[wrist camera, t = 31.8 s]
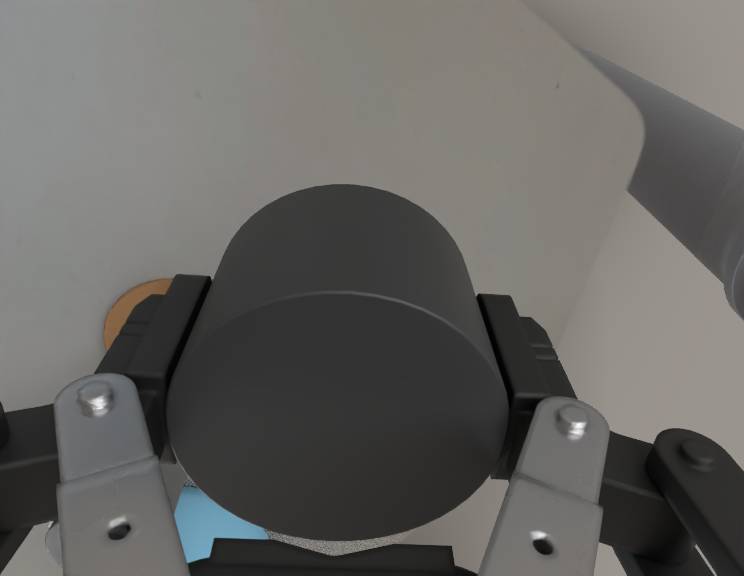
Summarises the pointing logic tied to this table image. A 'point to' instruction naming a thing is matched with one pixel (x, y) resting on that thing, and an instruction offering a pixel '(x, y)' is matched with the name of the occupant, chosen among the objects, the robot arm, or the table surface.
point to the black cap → (339, 371)
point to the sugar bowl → (208, 524)
